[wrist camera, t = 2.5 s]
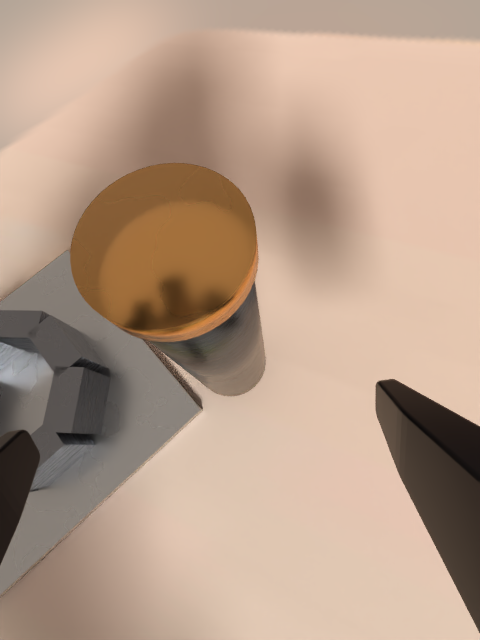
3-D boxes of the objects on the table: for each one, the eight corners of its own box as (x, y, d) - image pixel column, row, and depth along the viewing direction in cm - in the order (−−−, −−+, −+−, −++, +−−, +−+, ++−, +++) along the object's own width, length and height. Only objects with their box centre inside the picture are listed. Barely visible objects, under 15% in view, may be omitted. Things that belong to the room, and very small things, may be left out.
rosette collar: (-10, 606, 18) (-76, 644, 14) (-113, 396, 22) (-182, 388, 19) (202, 410, 20) (187, 403, 16) (71, 253, 24) (38, 223, 21)
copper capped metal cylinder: (227, 416, 19) (142, 372, 7) (178, 359, 21) (36, 240, 9) (285, 362, 20) (297, 237, 8) (233, 310, 21) (176, 134, 9)
